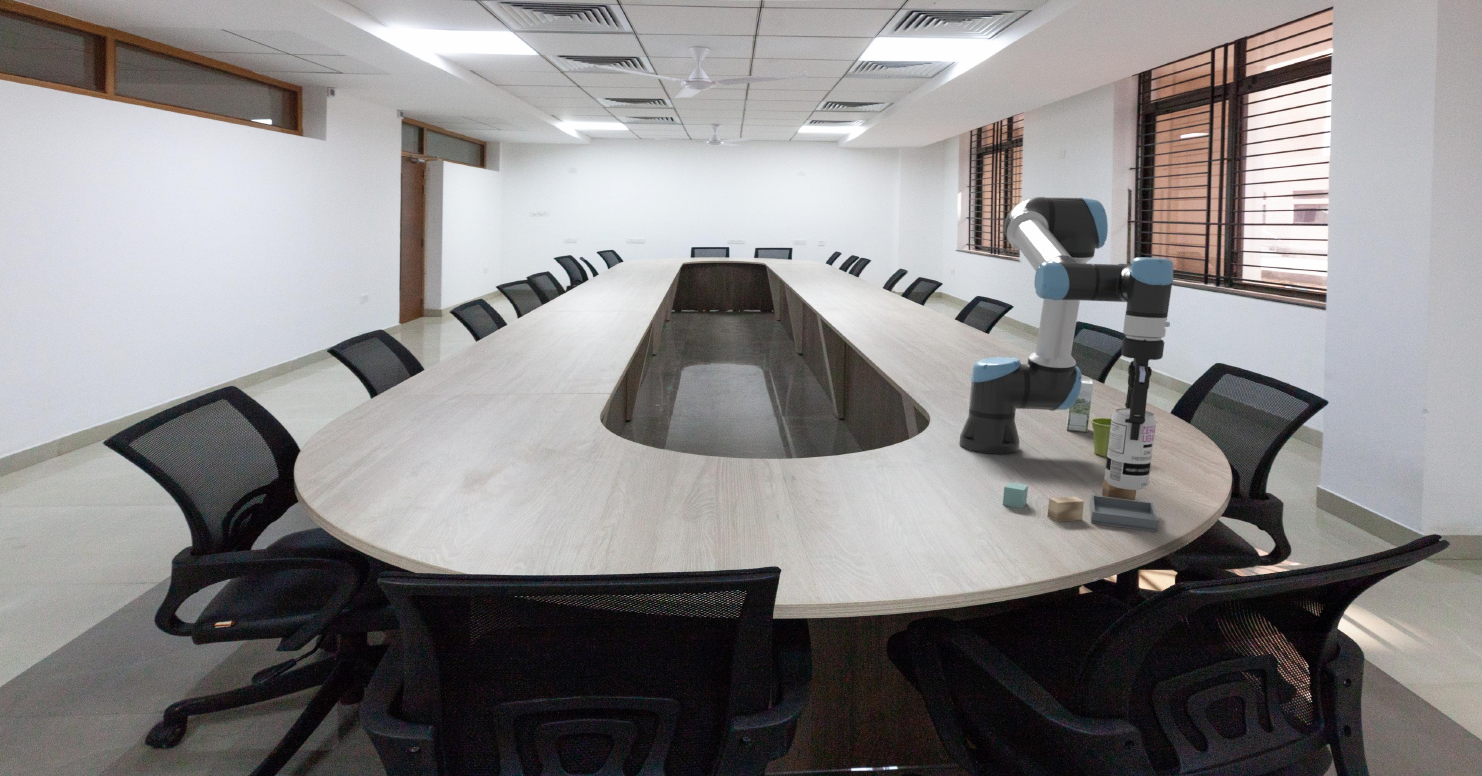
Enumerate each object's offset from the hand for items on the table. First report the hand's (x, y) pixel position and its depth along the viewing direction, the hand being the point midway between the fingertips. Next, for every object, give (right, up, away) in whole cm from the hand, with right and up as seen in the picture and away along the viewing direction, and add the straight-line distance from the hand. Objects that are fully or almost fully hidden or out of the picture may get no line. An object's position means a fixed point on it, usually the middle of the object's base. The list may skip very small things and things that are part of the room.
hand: (1130, 449), depth 181 cm
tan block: (-13, -14, +2) cm, 19 cm away
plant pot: (+16, -5, +52) cm, 55 cm away
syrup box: (+19, 0, +79) cm, 81 cm away
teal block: (-20, -12, +10) cm, 26 cm away
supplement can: (0, -7, +1) cm, 7 cm away
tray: (0, -14, +3) cm, 14 cm away
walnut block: (+4, -12, +16) cm, 20 cm away
